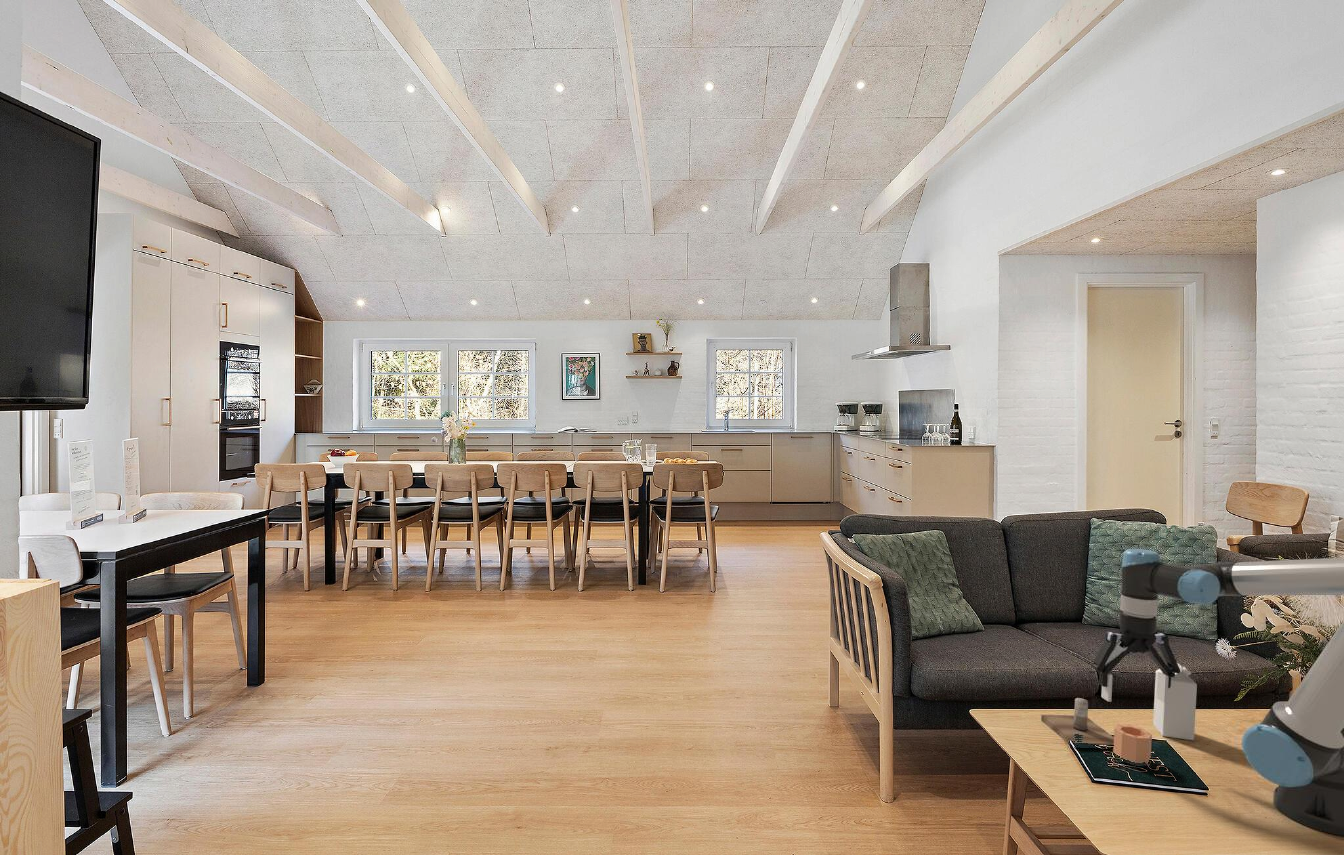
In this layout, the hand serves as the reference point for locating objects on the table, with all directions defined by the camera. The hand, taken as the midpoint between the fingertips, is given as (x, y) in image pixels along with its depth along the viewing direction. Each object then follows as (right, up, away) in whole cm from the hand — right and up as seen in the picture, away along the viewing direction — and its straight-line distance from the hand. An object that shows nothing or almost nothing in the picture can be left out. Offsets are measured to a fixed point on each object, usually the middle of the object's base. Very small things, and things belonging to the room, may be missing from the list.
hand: (1134, 700), depth 173 cm
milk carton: (+20, -15, +16) cm, 30 cm away
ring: (0, -15, 0) cm, 15 cm away
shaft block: (-6, -14, +13) cm, 20 cm away
